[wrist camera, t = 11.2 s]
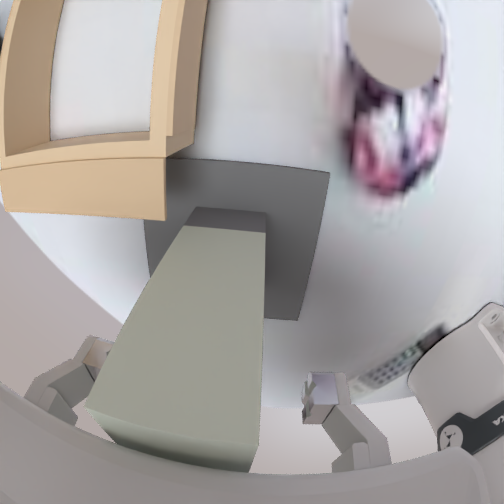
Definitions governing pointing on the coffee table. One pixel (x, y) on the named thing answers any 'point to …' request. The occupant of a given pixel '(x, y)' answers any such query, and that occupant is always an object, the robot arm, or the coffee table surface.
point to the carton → (94, 146)
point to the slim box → (193, 349)
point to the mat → (250, 199)
